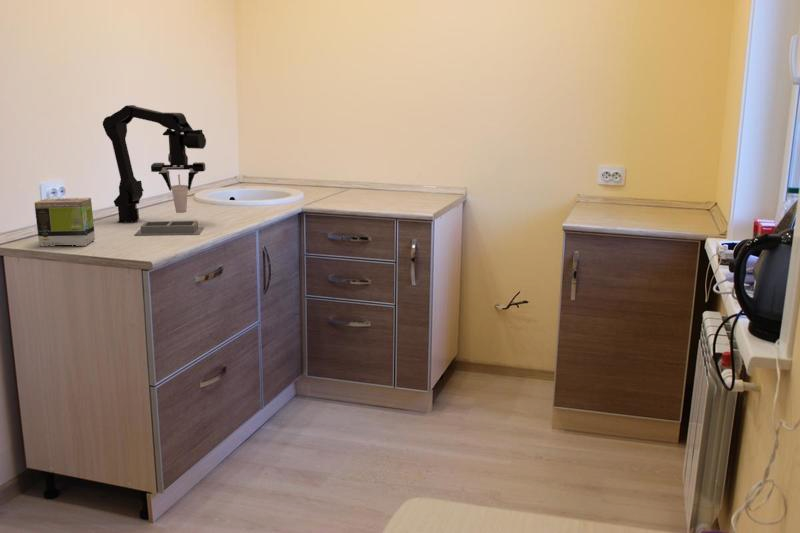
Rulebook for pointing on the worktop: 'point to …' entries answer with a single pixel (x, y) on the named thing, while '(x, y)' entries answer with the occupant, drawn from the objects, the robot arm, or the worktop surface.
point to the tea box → (64, 221)
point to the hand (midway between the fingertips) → (179, 190)
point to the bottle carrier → (169, 228)
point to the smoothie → (180, 197)
